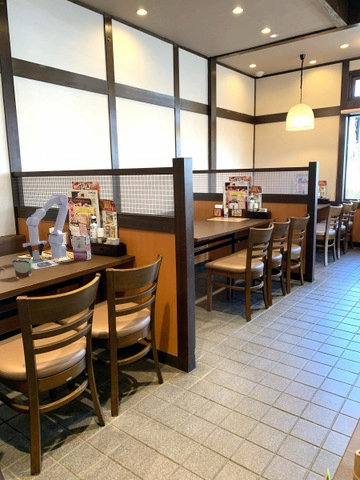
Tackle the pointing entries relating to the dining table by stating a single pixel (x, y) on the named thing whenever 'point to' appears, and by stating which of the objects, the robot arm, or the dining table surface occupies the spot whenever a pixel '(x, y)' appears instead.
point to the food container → (23, 266)
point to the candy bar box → (81, 247)
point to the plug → (36, 255)
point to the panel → (43, 263)
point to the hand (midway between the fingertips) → (36, 256)
